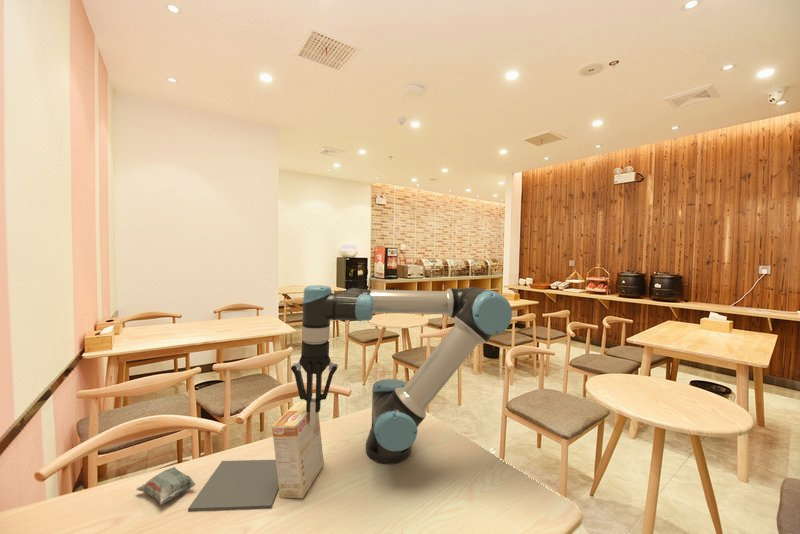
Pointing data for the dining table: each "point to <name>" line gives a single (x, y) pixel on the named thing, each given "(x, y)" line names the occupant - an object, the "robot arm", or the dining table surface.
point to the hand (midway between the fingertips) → (312, 422)
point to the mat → (239, 486)
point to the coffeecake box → (297, 451)
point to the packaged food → (167, 485)
